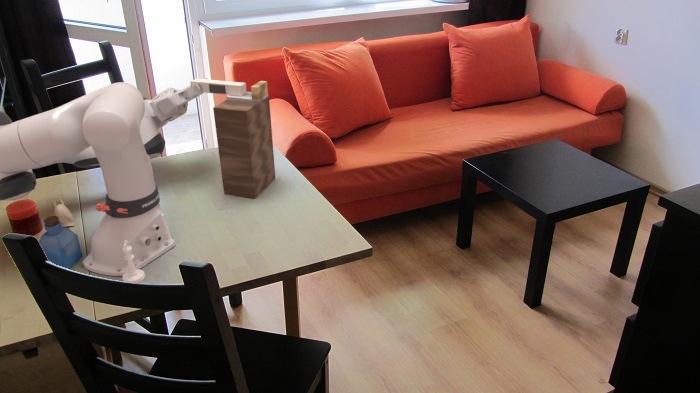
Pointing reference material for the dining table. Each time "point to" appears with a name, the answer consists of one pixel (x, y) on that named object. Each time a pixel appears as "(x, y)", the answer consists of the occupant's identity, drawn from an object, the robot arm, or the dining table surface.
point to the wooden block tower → (245, 142)
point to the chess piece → (131, 266)
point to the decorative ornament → (63, 214)
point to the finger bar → (220, 87)
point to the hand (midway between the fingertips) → (204, 84)
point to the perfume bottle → (60, 243)
